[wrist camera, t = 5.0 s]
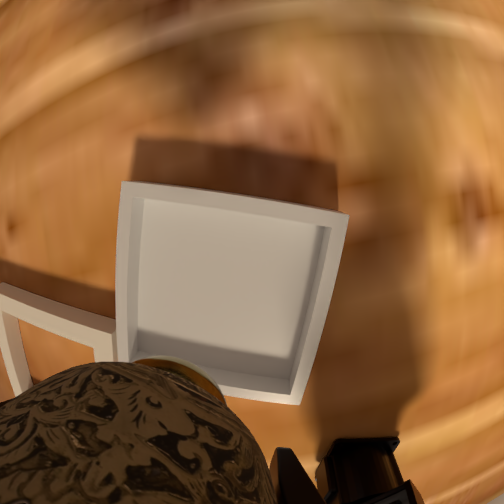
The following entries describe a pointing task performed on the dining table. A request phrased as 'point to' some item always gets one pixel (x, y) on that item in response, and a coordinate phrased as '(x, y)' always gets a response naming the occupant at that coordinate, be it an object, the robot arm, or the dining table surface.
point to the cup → (129, 439)
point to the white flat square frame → (53, 320)
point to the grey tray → (226, 284)
